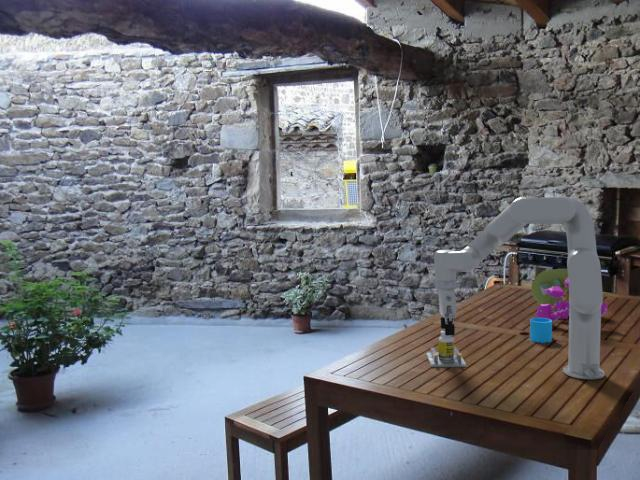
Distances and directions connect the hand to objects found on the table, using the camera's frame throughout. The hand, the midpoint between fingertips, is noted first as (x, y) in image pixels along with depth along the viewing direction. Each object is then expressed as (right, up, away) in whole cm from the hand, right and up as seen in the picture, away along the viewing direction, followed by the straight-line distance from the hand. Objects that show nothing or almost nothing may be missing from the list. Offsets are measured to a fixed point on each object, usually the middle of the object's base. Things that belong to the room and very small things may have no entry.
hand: (447, 331), depth 214 cm
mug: (+44, -7, +27) cm, 52 cm away
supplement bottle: (0, -10, +1) cm, 10 cm away
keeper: (0, -11, +1) cm, 11 cm away
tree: (+65, -4, +55) cm, 85 cm away
